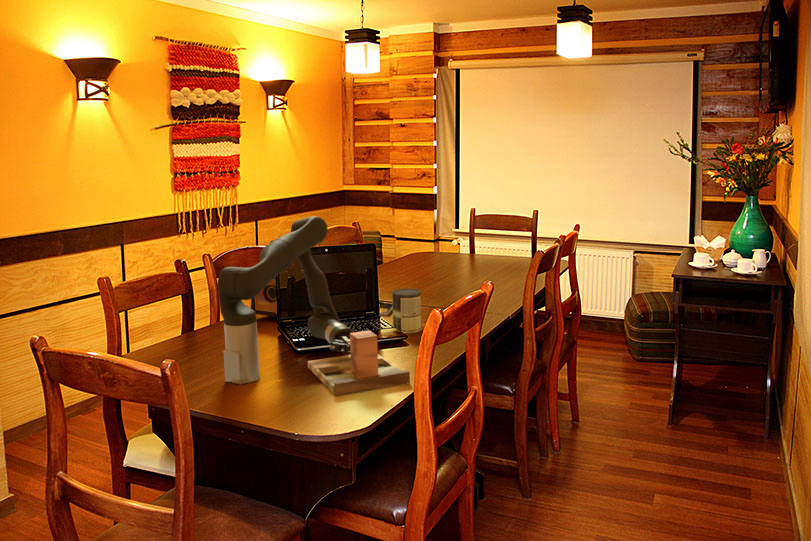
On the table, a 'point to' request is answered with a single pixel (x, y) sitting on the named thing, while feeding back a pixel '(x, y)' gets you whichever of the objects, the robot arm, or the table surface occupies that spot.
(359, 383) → the trap box
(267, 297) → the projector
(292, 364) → the table surface
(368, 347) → the block
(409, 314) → the coffee can
